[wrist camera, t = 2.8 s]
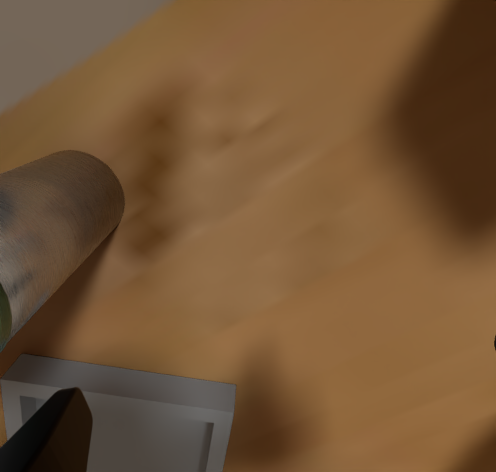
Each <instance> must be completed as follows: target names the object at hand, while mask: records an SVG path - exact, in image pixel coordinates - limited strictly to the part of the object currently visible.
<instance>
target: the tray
mask: <svg viewBox="0 0 496 472" xmlns="http://www.w3.org/2000/svg"><path fill="white" fill-rule="evenodd" d="M0 384H1V392H2V400H3V409H4V417H5V426H6V434H7V441H8V440H9V439H10V438H11V437H12V436H13V434H14V433H15V432H16V431H17V430H18V429H19V428H20V427H21V426H22V425H23V424H24V423H25V422H26V421H27V420H28V419H29V418H30V417H31V416H32V415H33V414H34V413H35V412H36V411H37V410H38V409H39V408H40V407H41V406H42V405H43V404H44V403H45V402H46V401H47V400H48V399H49V398H50V397H51V396H52V395H53V394H54V393H55V392H57V391H58V390H61V389H67V388H72V387H78V388H79V389H81V391H82V393H83V395H84V397H85V399H86V402H87V404H88V406H89V408H90V410H91V413H92V417H93V427H92V434H91V442H90V449H89V457H88V464H87V471H86V472H222V471H223V466H224V461H225V456H226V451H227V446H228V441H229V436H230V431H231V426H232V421H233V416H234V408H235V394H236V385H234V384H227V383H220V382H213V381H207V380H200V379H193V378H186V377H179V376H172V375H165V374H158V373H152V372H145V371H138V370H131V369H124V368H117V367H110V366H104V365H97V364H90V363H83V362H76V361H69V360H62V359H55V358H49V357H42V356H35V355H28V354H21V355H20V356H19V357H18V359H17V360H16V361H15V362H14V363H13V364H12V366H11V367H10V368H9V369H8V370H7V372H6V373H5V374H4V375H3V376H2V377H1V379H0Z"/></svg>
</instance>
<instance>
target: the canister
mask: <svg viewBox="0 0 496 472" xmlns="http://www.w3.org/2000/svg"><path fill="white" fill-rule="evenodd" d="M124 205H125V201H124V193H123V190H122V186H121V184H120V182H119V180H118V178H117V177H116V175H115V174H114V173H113V171H112V170H111V169H110V168H109V167H108V166H107V165H106V164H105V163H104V162H102V161H101V160H99V159H98V158H96V157H94V156H92V155H90V154H87V153H85V152H80V151H74V150H65V151H59V152H56V153H53V154H51V155H48V156H45V157H43V158H40V159H38V160H35V161H33V162H30V163H27V164H25V165H22V166H20V167H17V168H14V169H12V170H9V171H7V172H4V173H1V174H0V352H1V351H2V350H3V349H4V347H5V346H6V344H7V343H8V342H9V340H10V339H11V338H12V337H13V336H14V335H15V334H16V333H17V332H18V331H19V330H20V329H21V328H22V327H23V326H24V324H25V323H26V322H27V321H28V320H29V319H30V318H31V317H32V316H33V315H34V314H35V313H36V312H37V311H38V310H39V308H40V307H41V306H42V305H43V304H44V303H45V302H46V301H47V300H48V299H49V298H50V297H51V296H52V295H53V294H54V292H55V291H56V290H57V289H58V288H59V287H60V286H61V285H62V284H63V283H64V282H65V281H66V280H67V279H68V278H69V276H70V275H71V274H72V273H73V272H74V271H75V270H76V269H77V268H78V267H79V266H80V265H81V264H82V263H83V262H84V260H85V259H86V258H87V257H88V256H89V255H90V254H91V253H92V252H93V251H94V250H95V249H96V248H97V247H98V245H99V244H100V243H101V242H102V241H103V240H104V239H105V238H106V237H107V236H108V235H109V234H110V233H111V232H112V231H113V229H114V228H115V227H116V226H117V225H118V223H119V222H120V220H121V218H122V216H123V212H124Z"/></svg>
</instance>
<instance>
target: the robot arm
mask: <svg viewBox="0 0 496 472" xmlns="http://www.w3.org/2000/svg"><path fill="white" fill-rule="evenodd" d="M494 346H495V350H496V336H495V341H494ZM92 427H93V417H92V413H91V410H90V408H89V406H88V404H87V402H86V399H85V397H84V395H83V393H82V391H81V389H79V388H78V387H72V388H67V389H61V390H58V391H57V392H55V393H54V394H53V395H52V396H51V397H50V398H49V399H48V400H47V401H46V402H45V403H44V404H43V405H42V406H41V407H40V408H39V409H38V410H37V411H36V412H35V413H34V414H33V415H32V416H31V417H30V418H29V419H28V420H27V421H26V422H25V423H24V424H23V425H22V426H21V427H20V428H19V429H18V430H17V431H16V432H15V433H14V434H13V436H12V437H11V438H10V439H9V440H8V441H7V442H6V443H5V444H4V445H3V446H2V447H1V448H0V472H86V471H87V464H88V457H89V449H90V442H91V434H92Z"/></svg>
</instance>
